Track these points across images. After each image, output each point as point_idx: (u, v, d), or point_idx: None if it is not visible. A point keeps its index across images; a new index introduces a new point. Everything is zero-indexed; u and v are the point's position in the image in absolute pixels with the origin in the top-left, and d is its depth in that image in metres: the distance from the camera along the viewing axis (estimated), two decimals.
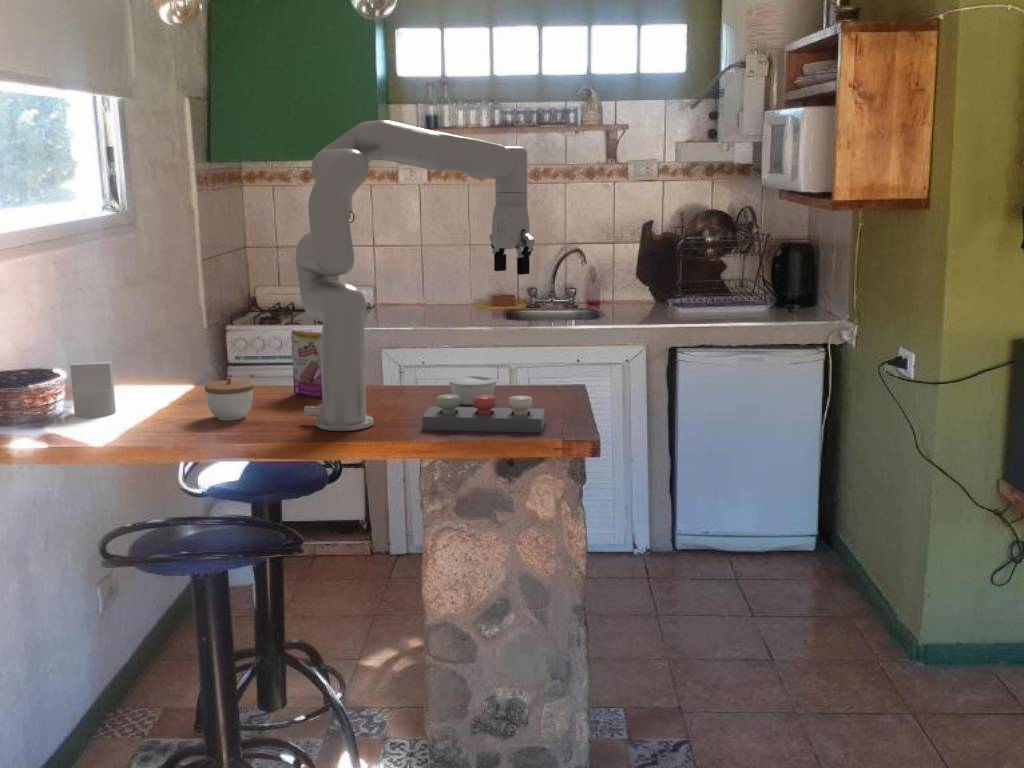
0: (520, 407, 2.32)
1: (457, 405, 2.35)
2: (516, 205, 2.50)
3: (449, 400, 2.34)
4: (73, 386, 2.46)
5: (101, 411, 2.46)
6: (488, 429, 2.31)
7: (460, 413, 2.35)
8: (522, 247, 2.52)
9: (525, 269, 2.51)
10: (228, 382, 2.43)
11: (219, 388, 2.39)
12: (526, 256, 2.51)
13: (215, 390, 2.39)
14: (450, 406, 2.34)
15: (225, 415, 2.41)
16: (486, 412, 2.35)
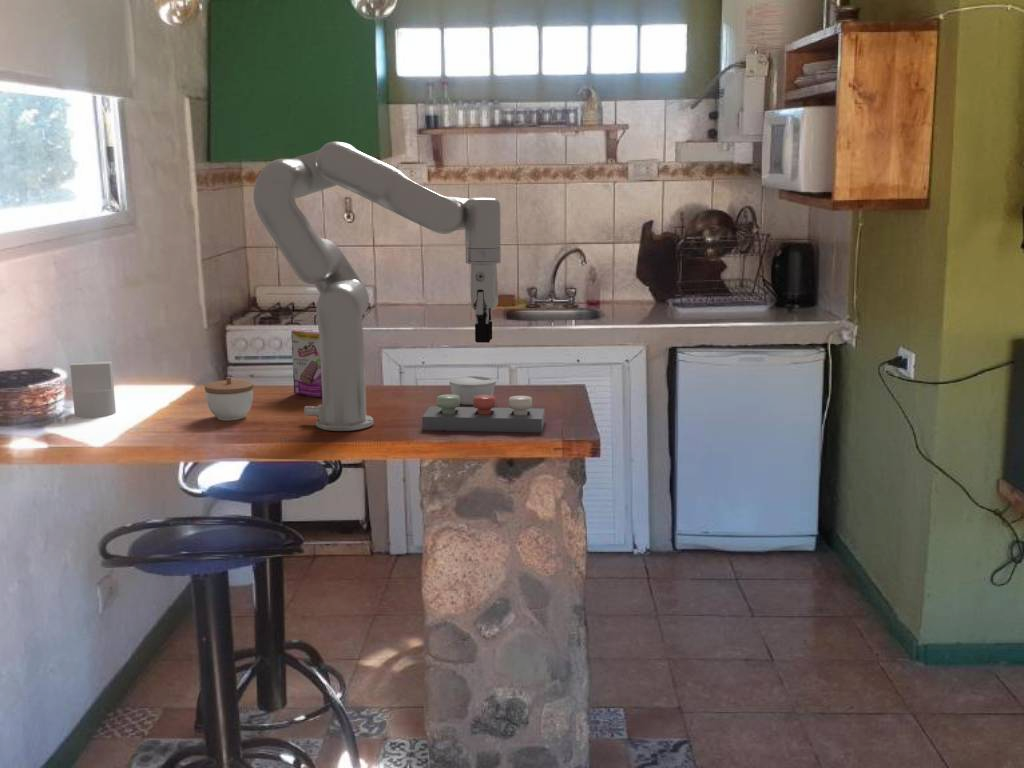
0: (520, 407, 2.32)
1: (457, 405, 2.35)
2: None
3: (449, 400, 2.34)
4: (73, 386, 2.46)
5: (101, 411, 2.46)
6: (488, 429, 2.31)
7: (460, 413, 2.35)
8: None
9: None
10: (228, 382, 2.43)
11: (219, 388, 2.39)
12: None
13: (215, 390, 2.39)
14: (450, 406, 2.34)
15: (225, 415, 2.41)
16: (486, 412, 2.35)
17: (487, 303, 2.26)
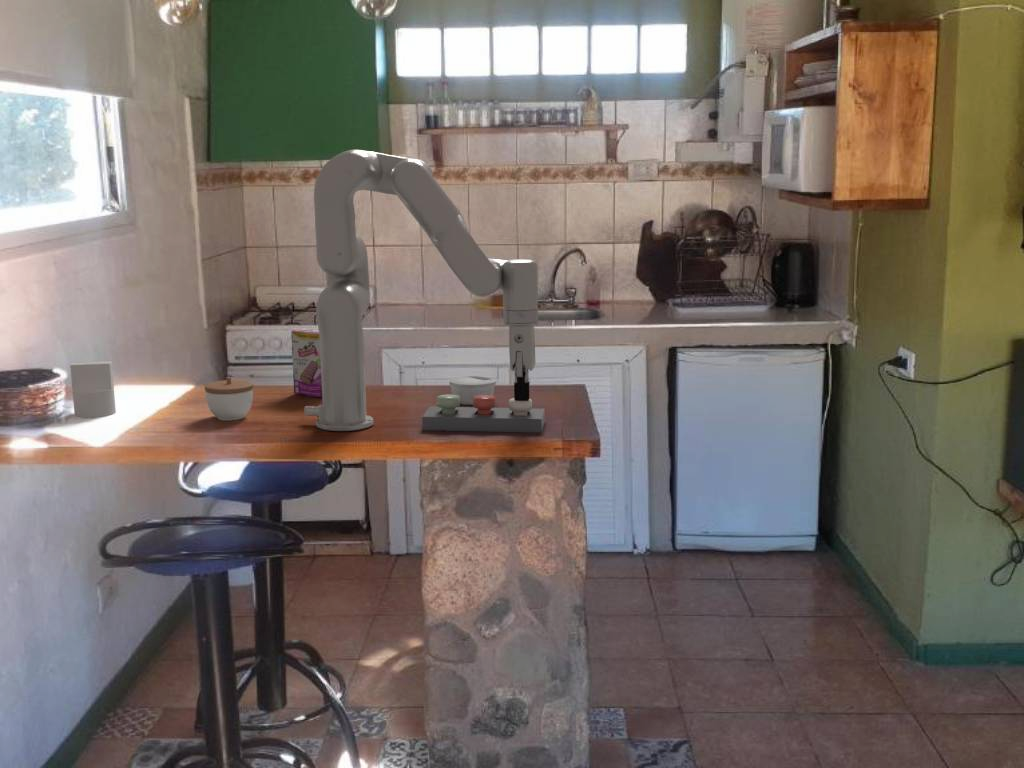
0: (520, 409, 2.32)
1: (457, 405, 2.35)
2: None
3: (449, 400, 2.34)
4: (73, 386, 2.46)
5: (101, 411, 2.46)
6: (488, 429, 2.31)
7: (460, 413, 2.35)
8: None
9: None
10: (228, 382, 2.43)
11: (219, 388, 2.39)
12: None
13: (215, 390, 2.39)
14: (450, 406, 2.34)
15: (225, 415, 2.41)
16: (486, 412, 2.35)
17: (526, 364, 2.28)
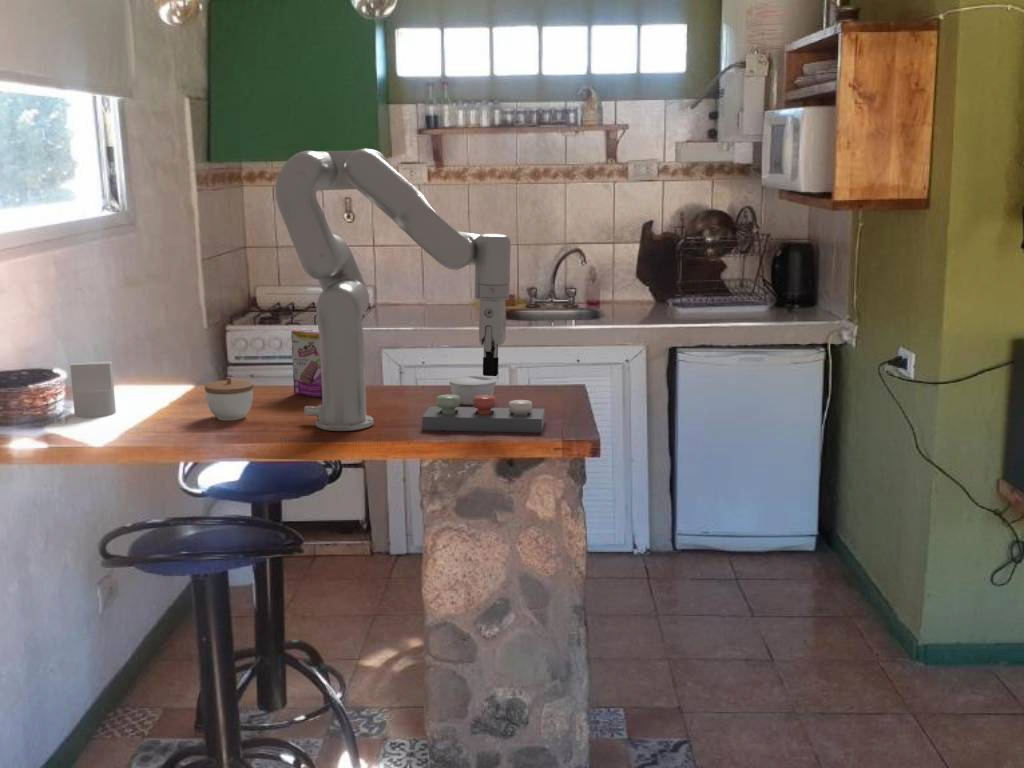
0: (520, 411, 2.33)
1: (457, 405, 2.35)
2: None
3: (449, 400, 2.34)
4: (73, 386, 2.46)
5: (101, 411, 2.46)
6: (488, 429, 2.31)
7: (460, 413, 2.35)
8: None
9: None
10: (228, 382, 2.43)
11: (219, 388, 2.39)
12: None
13: (215, 390, 2.39)
14: (450, 406, 2.34)
15: (225, 415, 2.41)
16: (486, 412, 2.35)
17: (495, 339, 2.27)
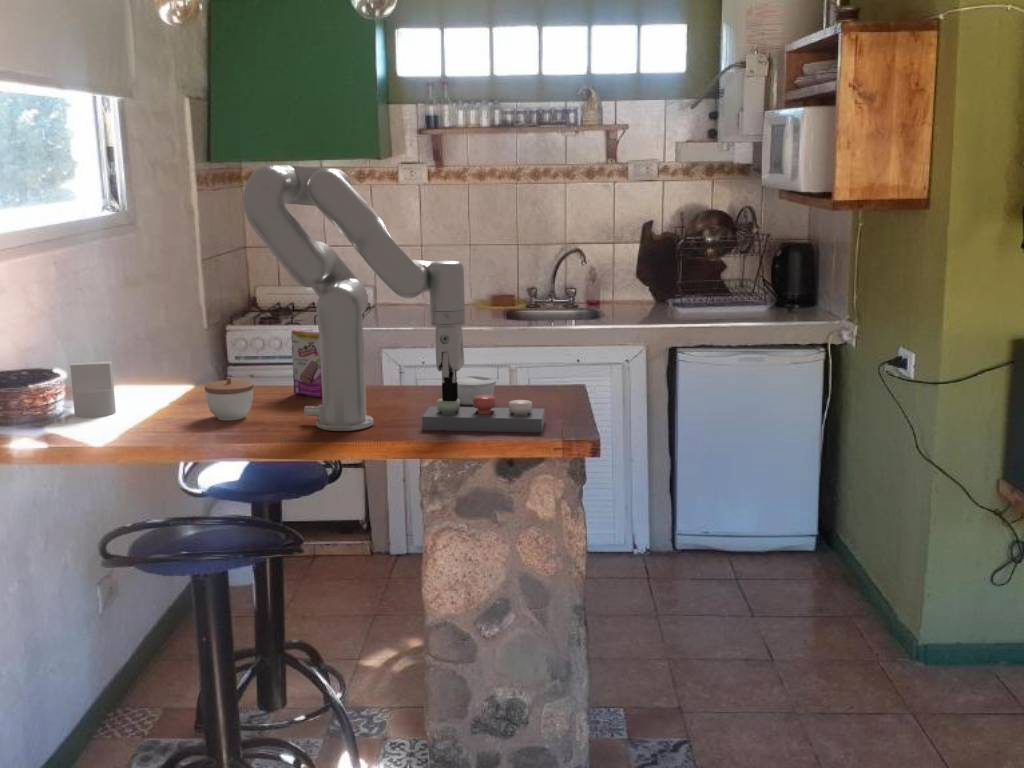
0: (520, 411, 2.33)
1: (457, 408, 2.35)
2: None
3: (449, 403, 2.34)
4: (73, 386, 2.46)
5: (101, 411, 2.46)
6: (488, 429, 2.31)
7: (460, 413, 2.35)
8: None
9: None
10: (228, 382, 2.43)
11: (219, 388, 2.39)
12: None
13: (215, 390, 2.39)
14: (450, 409, 2.34)
15: (225, 415, 2.41)
16: (486, 412, 2.35)
17: (452, 365, 2.29)
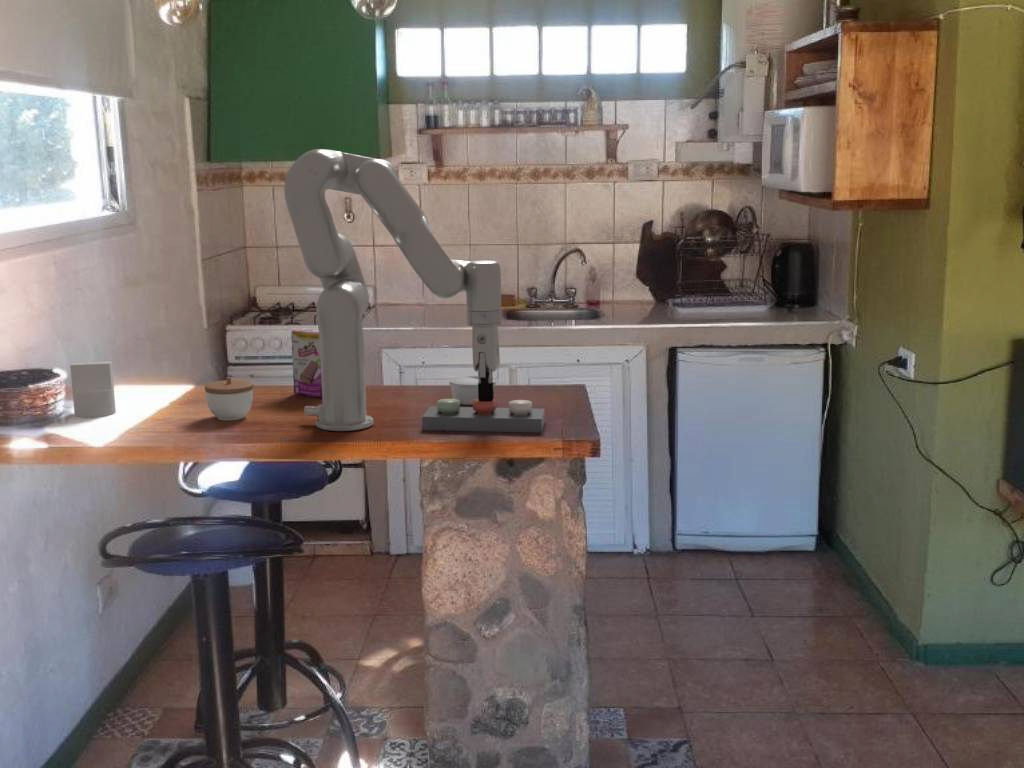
0: (520, 411, 2.33)
1: (457, 409, 2.35)
2: None
3: (449, 404, 2.34)
4: (73, 386, 2.46)
5: (101, 411, 2.46)
6: (488, 429, 2.31)
7: (460, 413, 2.35)
8: (485, 369, 2.36)
9: None
10: (228, 382, 2.43)
11: (219, 388, 2.39)
12: None
13: (215, 390, 2.39)
14: (450, 410, 2.34)
15: (225, 415, 2.41)
16: None
17: (489, 365, 2.29)
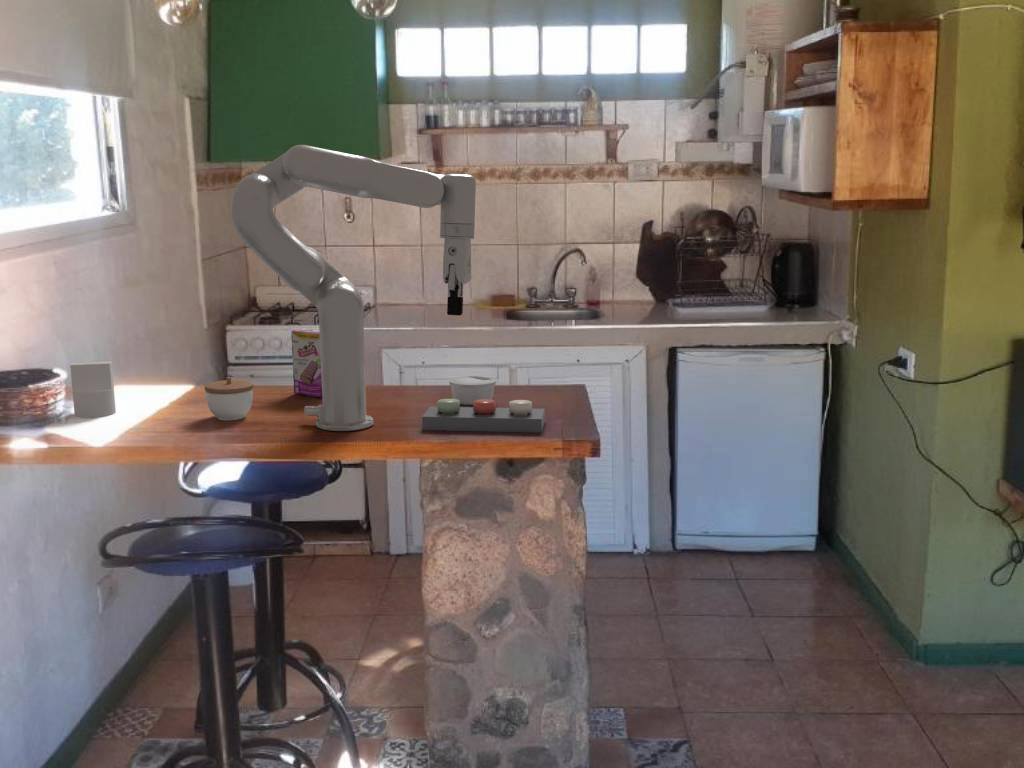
0: (520, 411, 2.33)
1: (457, 409, 2.35)
2: None
3: (449, 404, 2.34)
4: (73, 386, 2.46)
5: (101, 411, 2.46)
6: (488, 429, 2.31)
7: (460, 413, 2.35)
8: None
9: None
10: (228, 382, 2.43)
11: (219, 388, 2.39)
12: None
13: (215, 390, 2.39)
14: (450, 410, 2.34)
15: (225, 415, 2.41)
16: None
17: (458, 277, 2.31)
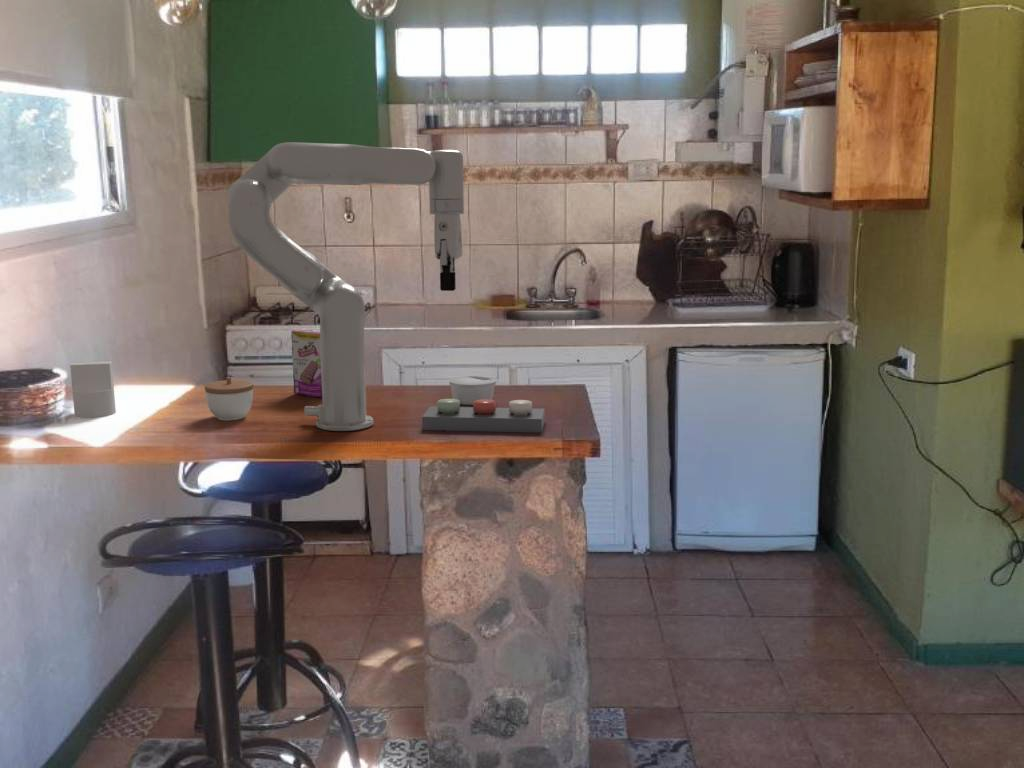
0: (520, 411, 2.33)
1: (457, 409, 2.35)
2: None
3: (449, 404, 2.34)
4: (73, 386, 2.46)
5: (101, 411, 2.46)
6: (488, 429, 2.31)
7: (460, 413, 2.35)
8: None
9: None
10: (228, 382, 2.43)
11: (219, 388, 2.39)
12: None
13: (215, 390, 2.39)
14: (450, 410, 2.34)
15: (225, 415, 2.41)
16: None
17: (450, 252, 2.33)
